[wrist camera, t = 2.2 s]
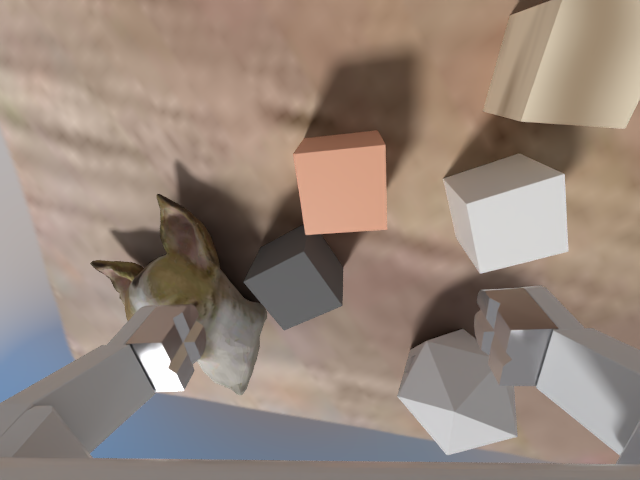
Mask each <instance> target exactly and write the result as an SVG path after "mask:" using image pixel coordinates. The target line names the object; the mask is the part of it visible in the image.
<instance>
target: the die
mask: <svg viewBox="0 0 640 480" xmlns="http://www.w3.org/2000/svg"><path fill="white" fill-rule="evenodd" d="M488 360H489V355H488V354H486V353H485V352H483V351H482V350H481V349H480V347H479V344H478V342H477V340H476V339H475V338H474V337H473V336H472V335H470V334H469V333H468V332H467V331H465V330H464V329H461V330H458V331H455V332H452V333H449V334H446V335H443V336H440V337H437V338H434V339H431V340H428V341H425V342H424V343H422V344H420V345H418V346H416V347H414V348H413V349H411V350H410V352H409V356H408V359H407V363H406V367H405V370H404V374H403V377H402V381H401V385H400V388H399V392H398V395H397V396H398V398H399V399H400V400H401V401H402V402H403V404H404V405H405V406H406V407H407V408H408V409H409V411H410V412H411V413H412V414H413V415H414V417H415V418H416V419H417V420H418V421H419V422H420V424H421V425H422V426H423V427H424V428H425V430H426V431H427V432H428V433H429V434H430V435H431V437H432V438H433V439H434V440H435V441H436V443H437V444H438V445H439V446H440V447H441V448H442V450H443V451H444V452H445V453H446V454H447V455H450V454H454V453H457V452H461V451H465V450H469V449H473V448H476V447H480V446H484V445H488V444H491V443H495V442H499V441H503V440H506V439H510V438H514V437H518V436H517V423H516V409H515V395H514V386H499V384H498V382H497V380H496V378H495V376H494V374H493V373H492V371H491V369H490V367H489V365H488Z"/></svg>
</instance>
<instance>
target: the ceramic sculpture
mask: <svg viewBox="0 0 640 480" xmlns="http://www.w3.org/2000/svg"><path fill="white" fill-rule="evenodd" d="M157 200H158V203H159V207H160V218H161V225H160V237H161V240H162V243H163V247H164V249H165V250H166V252H167V254H166V255H164V256H161V257H159V258H157V259H155V260H154V261H152V262H150V263H149V264H148V265H147V266H146V267H145V268H143V267H142V266H140V265H138V264H136V263H132V262H121V261H101V260H96V261H92V262H91V263H90V264H91V265H92V266H93V267H94V268H95V269H96V270H98V271H99V272H101V273H103V274H105V275H106V276H107V277H108V278H109V279H110V280H111V282H112V284H113V286H114V288H115V289H116V291H117V292H119V293H120V299H121V300H122V302H123V304H124V305H125V312H126V317H127V320H128V321H129V320H130V319H131V317H132V316H133V315H134V314H135V313H136V312H137V311H138V310H139V309H140V308H141V307H144V306H151V305H180V304H192V305H194V306H195V307H196V309H197V311H198V313H199V316H198V318H197V320H196V321H197V322H199V323H200V324H201V325H202V326H203V327H204V329H205V332H206V346H205V350H204V352H203V355H202V357H201V358H200V359H199V360H198V361H197V362H198V363H199V365H200V367H201V368H202V370H203V371H204V373H205V374H207V375H208V376H209V377H210V378H211V379H212V380H213V381H214V382H215V383H217V384H219V385H222V386H224V387H226V388H229V389H231V390H233V391H234V392H235V393H236V394H237V395H242V394H243V393H244V392H245V390H246V389H247V386H248V383H249V380H250V377H251V375H252V372H253V369H254V365H255V362H256V360H257V356H258V351H259V347H260V334H261V331H262V328H263V325H264V322H265V320H266V319H267V311H266V309H265V307H264V306H263V305H262V304H260V303H257V302H251V301H248V300H246V299H245V298H243V297H242V295H241V294H240V293H239V291H238V290H237V289H236V288H235V287H234V286H233V284H232V283H231V282H230V281H229V280H228V278H227V277H226V275H225V274H224V273H223V272H222V271H221V270H220V264H219V259H218V256H217V252H216V250H215V247H214V244H213V241H212V238H211V236H210V235H209V233H208V231H207V229H206V228H205V226H204V225H203V224H202V223H201V221H200V220H198V219H197V218H196V217H195V216H194V215H193V214H192V213H191V212H189V211H188V210H187V209H185V208H184V207H182V206H180V205H179V204H177V203H175V202H173V201H172V200H170V199H168V198H166V197H164V196H162V195H160V194H157Z"/></svg>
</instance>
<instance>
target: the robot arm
mask: <svg viewBox="0 0 640 480" xmlns="http://www.w3.org/2000/svg"><path fill="white" fill-rule="evenodd" d="M477 304H478V305H479V307H480V310H479V311H478V312H477V313H476V314H475V318H474V330H475V336H476V339H477V342H478V344H479V347H480V349H481V350H482V351H483V352H485V353H486V354H488V355H489V360H488V365H489V367H490V369H491V371H492V373H493V374H494V376H495V378H496V380H497V382H498V384H499V386H537V387H536V388H537V389H538V390H540V391H541V392H542V393H543V394H545V395H546V396H547V397H548V398H550V399H551V400H552V401H553V402H554V403H556V404H557V405H558V406H559V407H561V408H562V409H563V410H564V411H566V412H567V413H568V414H569V415H571V416H572V417H573V418H574V419H575V420H577V421H578V422H579V423H580V424H582V425H583V426H584V427H585V428H587V429H588V430H589V431H590V432H592V433H593V434H594V435H595V436H597V437H598V438H599V439H600V440H601V441H603V442H604V443H605V444H606V445H608V446H609V447H610V448H611V449H613V450H614V451H615V452H616V453H618V454H619V455H620V457H619V459H618V460H617V462H616V464H556V463H467V462H464V463H463V462H370V461H369V462H367V461H363V462H362V461H284V460H282V461H281V460H202V459H199V460H198V459H117V458H110V459H109V458H92V456H91V455H90V453H91V452H92V451H93V450H94V449H95V448H96V447H97V446H99V445H100V444H101V443H102V442H103V441H104V440H105V439H106V438H107V437H108V436H109V435H110V434H112V433H113V432H114V431H115V430H116V429H117V428H118V427H119V426H120V425H122V424H123V423H124V422H125V421H126V420H127V419H128V418H129V417H130V416H131V415H132V414H134V413H135V412H136V411H137V410H138V409H139V408H140V407H141V406H142V405H143V404H145V403H146V401H148V400H149V399H150V398H151V397H152V396H153V395H154V394H155V392H164V391H184V390H185V388H186V386H187V384H188V382H189V380H190V378H191V376H192V374H193V372H194V367H193V364H194V363H195V362H196V361H198V360H199V359H200V358H201V357H202V355H203V352H204V350H205V346H206V332H205V329H204V327H203V326H202V325H201V324H200V323H199V322H197V321H196V320H197V318H198V316H199V313H198V311H197V309H196V307H195V306H194V305H192V304H180V305H151V306H144V307H141V308H140V309H139V310H138V311H137V312H136V313H135V314H134V315H133V316H132V317H131V319H130V320H129V321H128V322H127V323H126V324H125V325H124V326H123V327H122V329H121V330H120V331H119V332H118V333H117V334H116V335H115V336H114V337H113V339H112V340H111V341H110V342H109V343H108V344H107V345H101V346H100V347H98V348H96V349H94V350H93V351H91V352H89V353H87V354H86V355H84V356H82V357H80V358H79V359H77V360H75V361H73V362H72V363H70V364H68V365H66V366H65V367H63V368H61V369H59V370H58V371H56V372H54V373H52V374H50V375H49V376H47V377H45V378H44V379H42V380H40V381H38V382H37V383H35V384H33V385H31V386H29V387H28V388H26V389H24V390H23V391H21V392H19V393H17V394H16V395H14V396H12V397H10V398H8V399H7V400H5V401H3V402H1V403H0V480H640V350H638V349H636V348H634V347H632V346H630V345H628V344H625V343H623V342H621V341H619V340H617V339H615V338H612V337H610V336H608V335H606V334H604V333H601V332H599V331H597V330H595V329H593V328H586V329H585V328H584V327H583V326H582V325H581V324H580V323H579V322H578V320H577V319H576V318H575V317H574V316H573V315H572V314H571V313H570V312H569V311H568V310H567V309H566V308H565V307H564V306H563V305H562V304H561V303H560V302H559V301H558V300H557V299H556V298H555V297H554V296H553V295H552V294H551V293H550V292H549V291H548V290H547V289H546V288H545V287H543V286H529V287H520V288H507V289H489V290H480V291H479V293H478V297H477Z"/></svg>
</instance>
